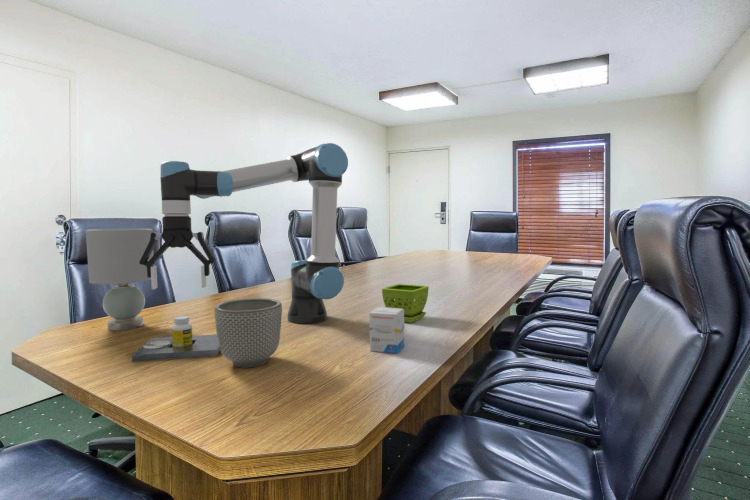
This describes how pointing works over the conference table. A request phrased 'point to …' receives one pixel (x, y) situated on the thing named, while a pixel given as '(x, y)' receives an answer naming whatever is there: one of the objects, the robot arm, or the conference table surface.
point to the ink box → (386, 329)
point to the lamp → (119, 272)
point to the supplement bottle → (181, 332)
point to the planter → (248, 330)
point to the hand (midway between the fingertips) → (179, 287)
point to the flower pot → (406, 299)
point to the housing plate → (177, 349)
